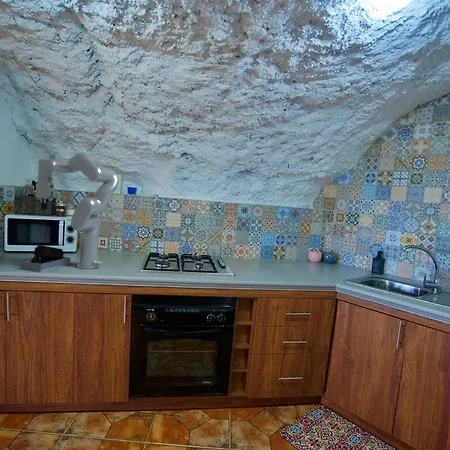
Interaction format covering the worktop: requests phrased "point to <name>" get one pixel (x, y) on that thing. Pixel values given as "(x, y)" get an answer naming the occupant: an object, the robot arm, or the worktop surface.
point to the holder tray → (46, 264)
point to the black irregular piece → (47, 254)
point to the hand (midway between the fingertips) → (44, 209)
